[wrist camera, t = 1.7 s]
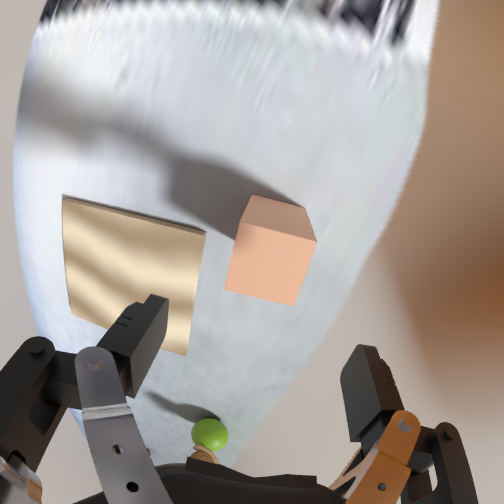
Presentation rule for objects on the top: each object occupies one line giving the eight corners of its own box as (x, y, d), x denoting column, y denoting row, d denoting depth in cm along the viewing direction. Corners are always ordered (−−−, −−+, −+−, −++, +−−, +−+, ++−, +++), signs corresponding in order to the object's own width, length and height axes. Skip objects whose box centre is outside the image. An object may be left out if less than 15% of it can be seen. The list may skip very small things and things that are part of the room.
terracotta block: (252, 194, 23) (239, 221, 16) (305, 208, 23) (317, 241, 16) (240, 243, 25) (224, 289, 18) (290, 256, 25) (293, 306, 18)
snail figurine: (214, 434, 39) (201, 495, 28) (188, 415, 37) (169, 479, 26) (241, 429, 37) (231, 494, 26) (215, 408, 35) (198, 479, 24)
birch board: (68, 197, 25) (62, 200, 24) (206, 231, 25) (203, 235, 24) (75, 309, 31) (71, 313, 30) (187, 350, 31) (185, 356, 30)
